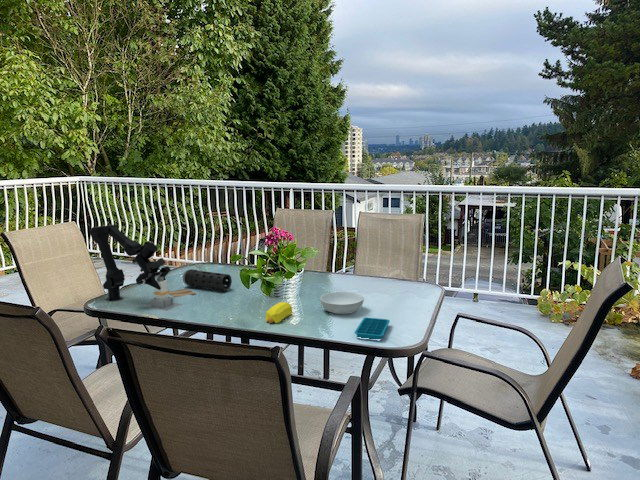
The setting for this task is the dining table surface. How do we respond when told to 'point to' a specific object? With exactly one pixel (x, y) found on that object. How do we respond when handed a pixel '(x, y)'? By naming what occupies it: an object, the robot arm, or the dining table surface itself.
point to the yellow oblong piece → (278, 312)
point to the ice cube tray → (372, 328)
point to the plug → (163, 292)
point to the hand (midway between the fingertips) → (163, 288)
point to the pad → (181, 292)
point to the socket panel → (162, 304)
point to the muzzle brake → (207, 280)
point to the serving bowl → (342, 302)
